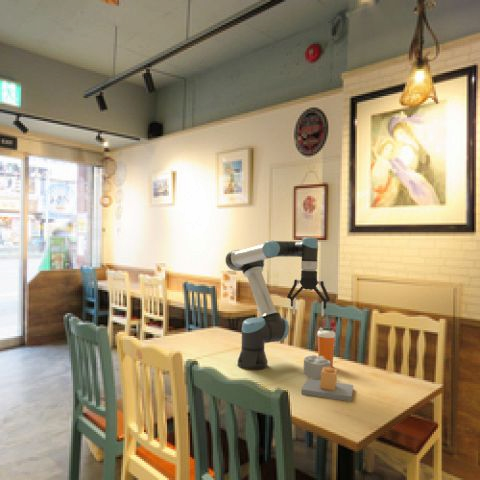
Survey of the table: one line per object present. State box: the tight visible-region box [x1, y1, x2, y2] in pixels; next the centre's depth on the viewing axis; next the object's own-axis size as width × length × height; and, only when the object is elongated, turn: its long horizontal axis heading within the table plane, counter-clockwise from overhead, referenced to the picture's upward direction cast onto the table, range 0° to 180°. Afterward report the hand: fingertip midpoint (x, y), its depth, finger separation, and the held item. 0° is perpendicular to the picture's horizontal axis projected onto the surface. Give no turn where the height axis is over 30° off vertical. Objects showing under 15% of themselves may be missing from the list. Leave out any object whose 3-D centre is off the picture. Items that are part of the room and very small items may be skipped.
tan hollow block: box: [320, 367, 338, 391], centre depth 171 cm, size 6×6×8 cm
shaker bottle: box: [317, 325, 336, 368], centre depth 207 cm, size 9×9×20 cm
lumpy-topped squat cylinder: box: [303, 354, 331, 381], centre depth 193 cm, size 10×13×9 cm
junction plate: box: [301, 378, 354, 402], centre depth 172 cm, size 20×14×7 cm
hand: (308, 314), depth 193 cm, fingers open, 13 cm apart
